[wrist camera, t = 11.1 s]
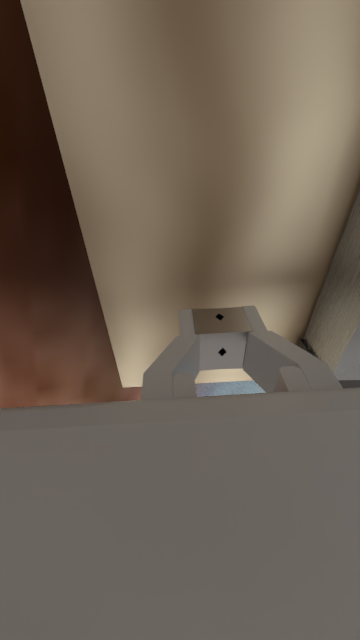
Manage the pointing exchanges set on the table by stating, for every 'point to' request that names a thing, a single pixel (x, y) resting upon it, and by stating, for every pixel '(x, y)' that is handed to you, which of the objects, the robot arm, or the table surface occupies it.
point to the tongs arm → (340, 309)
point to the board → (203, 155)
